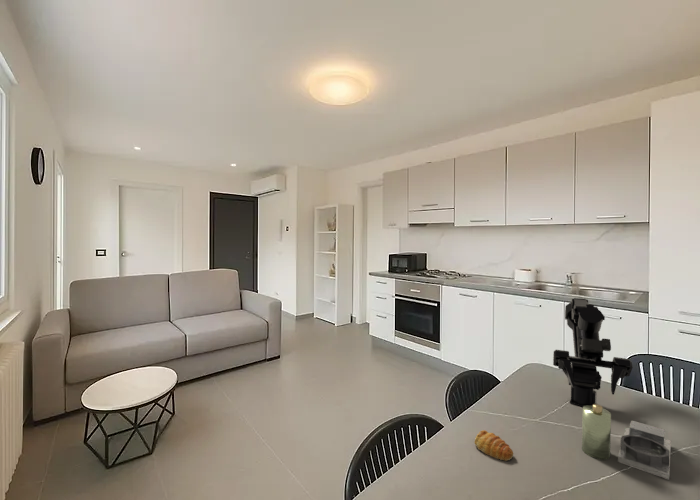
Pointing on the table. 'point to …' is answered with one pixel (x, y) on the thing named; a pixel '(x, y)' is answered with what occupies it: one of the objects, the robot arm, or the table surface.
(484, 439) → the pastry
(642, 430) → the grey piece
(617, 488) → the table surface
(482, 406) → the table surface
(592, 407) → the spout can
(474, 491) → the table surface
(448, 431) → the table surface
